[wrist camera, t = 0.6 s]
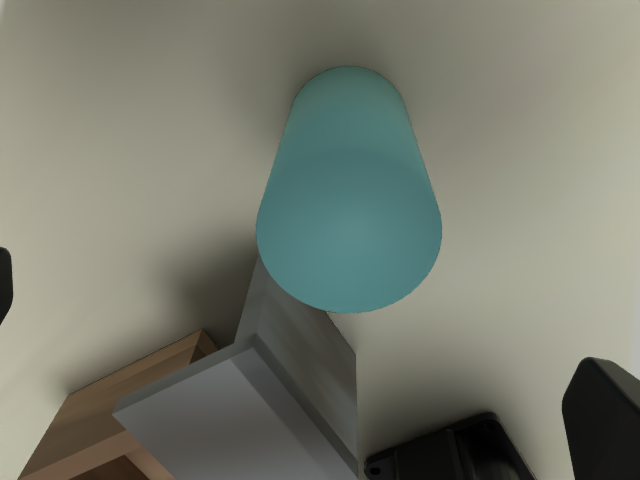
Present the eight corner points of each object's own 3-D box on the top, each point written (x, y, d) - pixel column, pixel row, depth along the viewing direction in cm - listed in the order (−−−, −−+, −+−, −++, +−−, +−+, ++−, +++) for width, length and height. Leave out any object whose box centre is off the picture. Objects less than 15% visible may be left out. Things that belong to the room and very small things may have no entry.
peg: (428, 147, 20) (472, 266, 13) (327, 201, 21) (317, 338, 14) (371, 42, 18) (386, 111, 11) (265, 106, 20) (218, 205, 12)
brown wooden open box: (392, 405, 25) (404, 537, 20) (170, 496, 29) (128, 630, 23) (276, 242, 22) (252, 347, 16) (39, 368, 25) (-47, 489, 20)
